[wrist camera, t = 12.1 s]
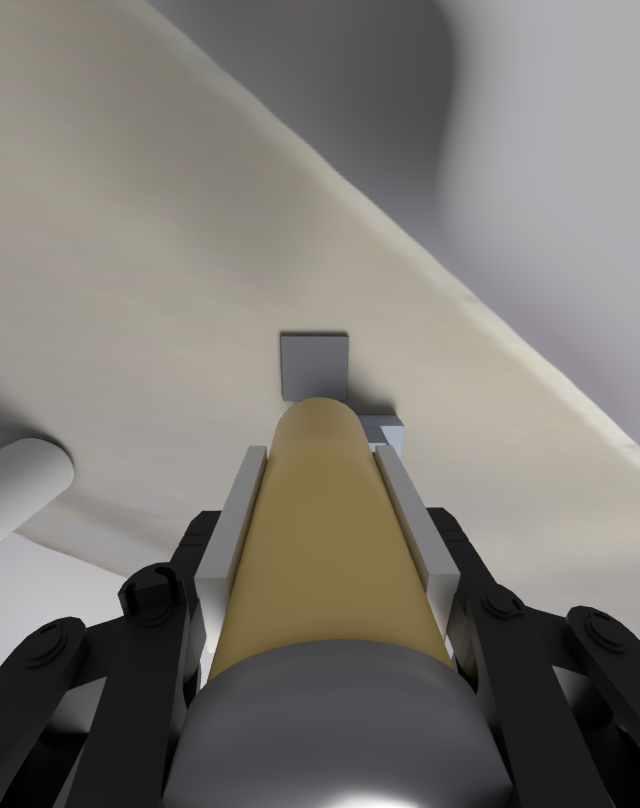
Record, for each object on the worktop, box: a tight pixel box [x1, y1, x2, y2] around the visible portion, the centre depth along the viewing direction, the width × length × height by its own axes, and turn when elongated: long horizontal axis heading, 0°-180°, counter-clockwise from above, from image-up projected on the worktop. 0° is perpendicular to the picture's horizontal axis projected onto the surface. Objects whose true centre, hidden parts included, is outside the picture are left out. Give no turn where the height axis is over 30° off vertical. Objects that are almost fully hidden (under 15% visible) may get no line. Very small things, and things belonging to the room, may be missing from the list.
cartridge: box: [162, 397, 514, 808], centre depth 11 cm, size 5×5×13 cm
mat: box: [281, 336, 349, 401], centre depth 32 cm, size 7×7×1 cm
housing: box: [357, 415, 404, 459], centre depth 34 cm, size 15×11×7 cm
